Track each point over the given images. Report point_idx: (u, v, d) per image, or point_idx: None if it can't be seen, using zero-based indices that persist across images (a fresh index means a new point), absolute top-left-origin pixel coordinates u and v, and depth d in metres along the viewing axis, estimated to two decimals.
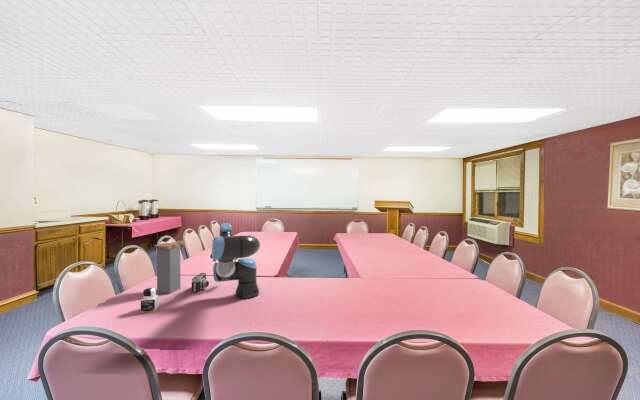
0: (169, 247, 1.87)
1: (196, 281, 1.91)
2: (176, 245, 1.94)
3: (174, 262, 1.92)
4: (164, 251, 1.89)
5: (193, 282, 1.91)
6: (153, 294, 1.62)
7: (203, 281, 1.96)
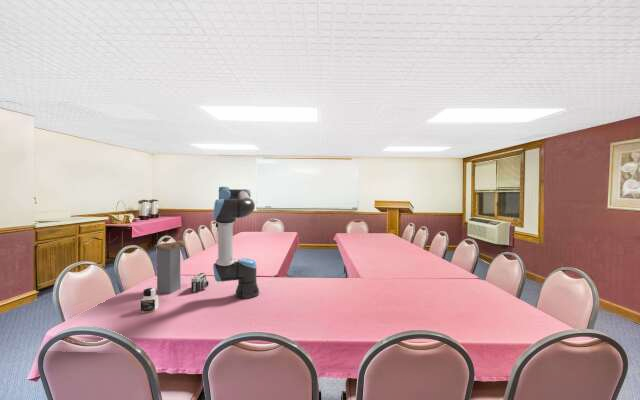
0: (169, 247, 1.87)
1: (195, 281, 1.91)
2: (176, 245, 1.94)
3: (174, 262, 1.92)
4: (164, 251, 1.89)
5: (193, 282, 1.91)
6: (153, 294, 1.62)
7: (203, 281, 1.96)
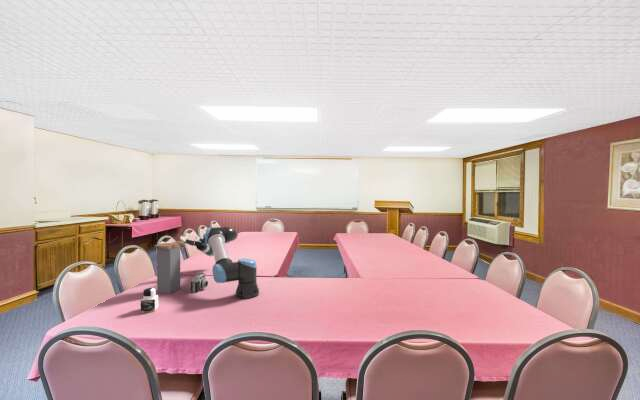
0: (169, 247, 1.87)
1: (195, 281, 1.91)
2: (176, 245, 1.94)
3: (174, 262, 1.92)
4: (164, 251, 1.89)
5: (192, 282, 1.91)
6: (153, 294, 1.62)
7: (202, 281, 1.96)
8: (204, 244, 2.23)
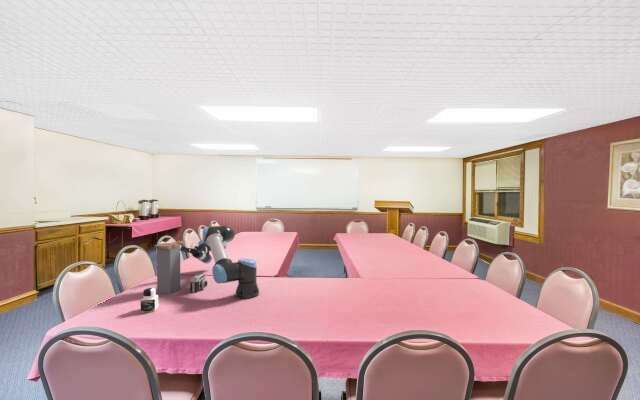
0: (169, 247, 1.87)
1: (194, 281, 1.91)
2: (176, 245, 1.94)
3: (174, 262, 1.92)
4: (164, 251, 1.89)
5: (192, 282, 1.91)
6: (153, 294, 1.62)
7: (202, 281, 1.96)
8: (200, 251, 2.18)
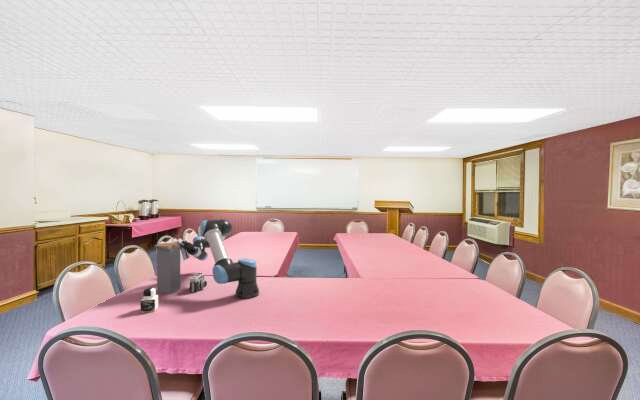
0: (169, 247, 1.87)
1: (194, 281, 1.91)
2: (176, 245, 1.94)
3: (174, 262, 1.92)
4: (164, 251, 1.89)
5: (191, 282, 1.91)
6: (153, 294, 1.62)
7: (201, 281, 1.96)
8: (190, 247, 2.10)
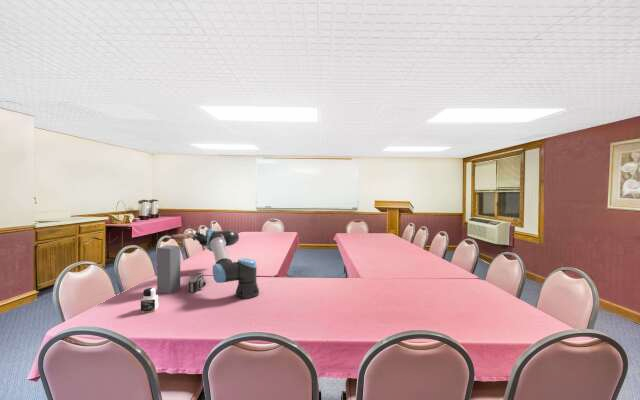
0: (185, 237, 2.03)
1: (193, 281, 1.91)
2: (191, 236, 2.09)
3: (174, 262, 1.92)
4: (164, 251, 1.89)
5: (190, 282, 1.91)
6: (153, 294, 1.62)
7: (200, 281, 1.96)
8: (203, 238, 2.26)
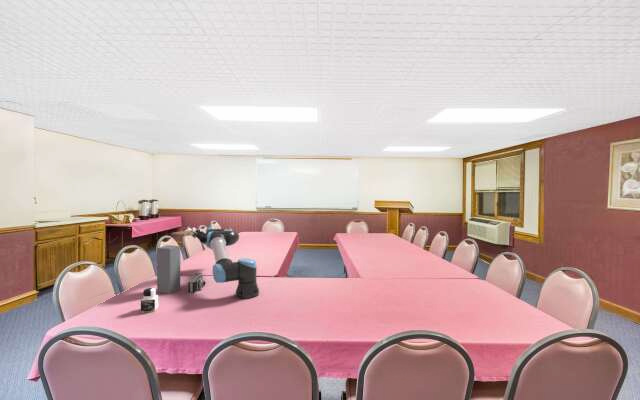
0: (185, 234, 2.03)
1: (192, 281, 1.91)
2: (191, 233, 2.09)
3: (174, 262, 1.92)
4: (164, 251, 1.89)
5: (190, 282, 1.91)
6: (153, 294, 1.62)
7: (199, 281, 1.96)
8: (203, 236, 2.26)
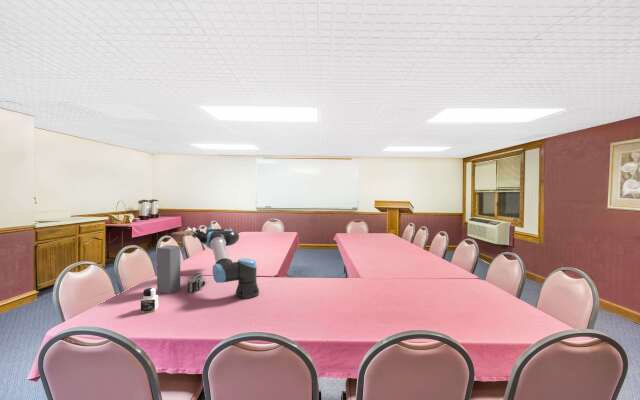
0: (185, 234, 2.03)
1: (192, 281, 1.91)
2: (191, 233, 2.09)
3: (174, 262, 1.92)
4: (164, 251, 1.89)
5: (189, 282, 1.91)
6: (153, 294, 1.62)
7: (199, 281, 1.96)
8: (203, 236, 2.26)
